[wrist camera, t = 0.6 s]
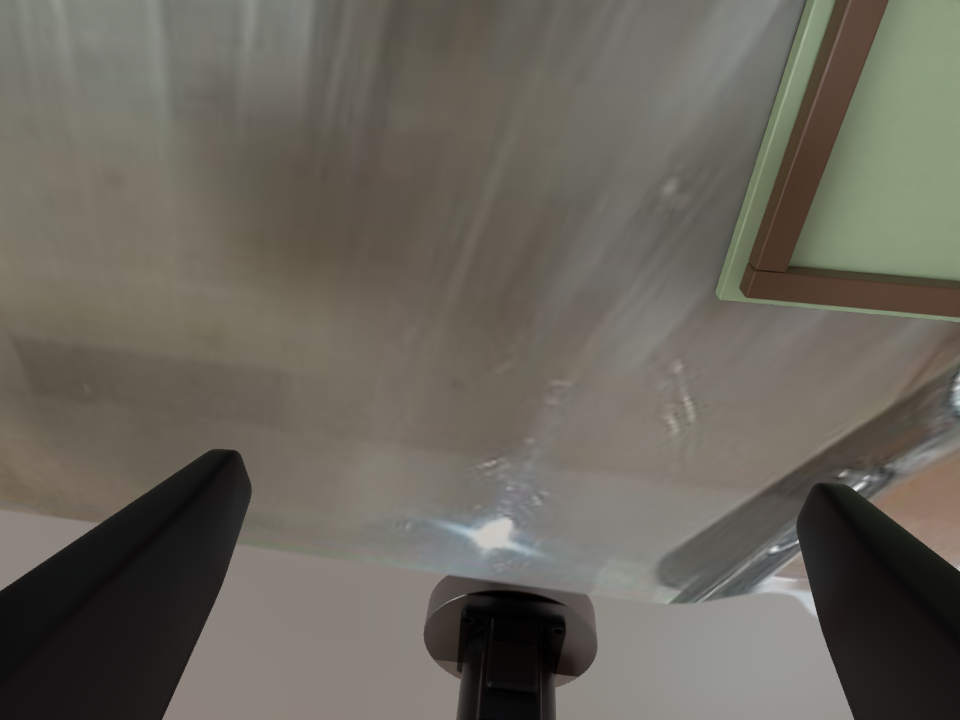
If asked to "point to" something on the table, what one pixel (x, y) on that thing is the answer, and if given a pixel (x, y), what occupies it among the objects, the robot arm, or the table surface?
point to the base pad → (859, 167)
